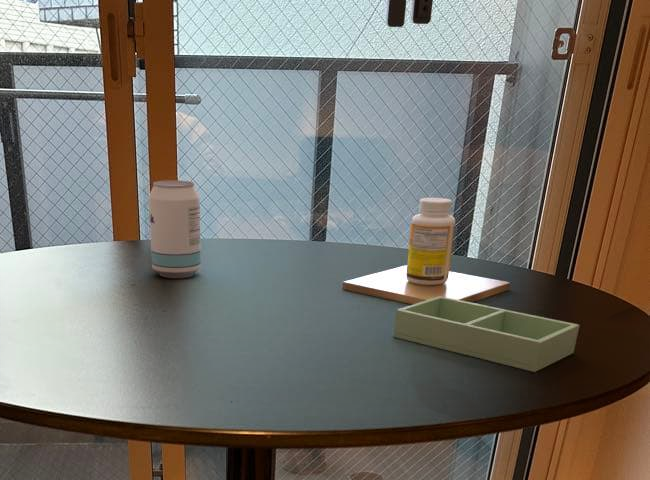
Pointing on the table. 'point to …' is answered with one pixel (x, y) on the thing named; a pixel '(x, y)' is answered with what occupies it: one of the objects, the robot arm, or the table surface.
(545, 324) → the divided tray
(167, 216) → the beverage can
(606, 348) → the table surface
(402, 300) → the mat
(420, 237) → the supplement bottle
